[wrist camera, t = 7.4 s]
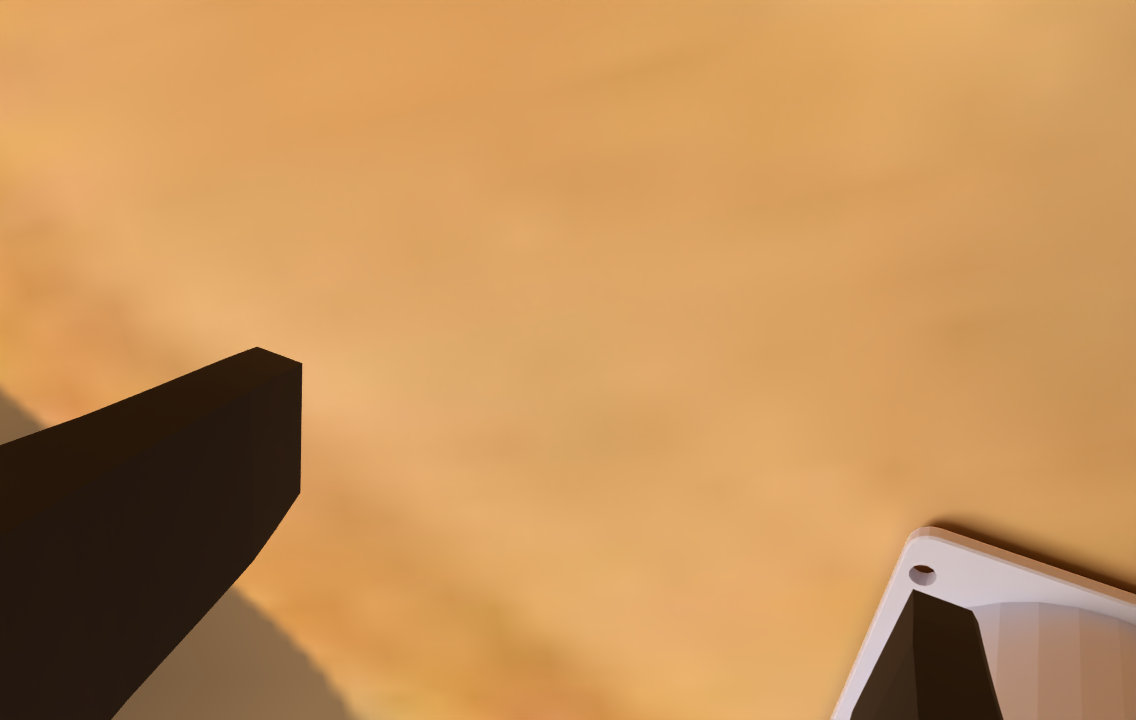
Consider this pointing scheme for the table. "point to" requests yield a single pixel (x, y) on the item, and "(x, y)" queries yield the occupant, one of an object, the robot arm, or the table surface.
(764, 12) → the table surface
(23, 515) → the robot arm
